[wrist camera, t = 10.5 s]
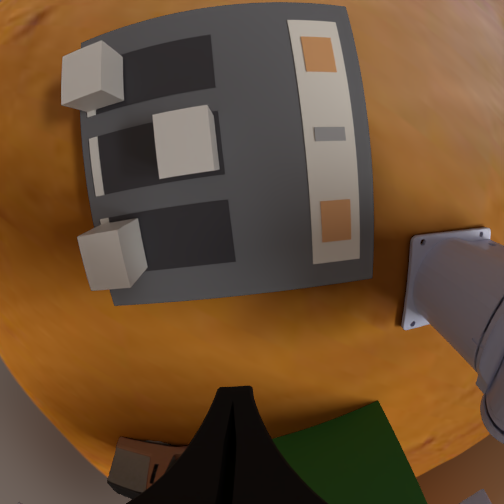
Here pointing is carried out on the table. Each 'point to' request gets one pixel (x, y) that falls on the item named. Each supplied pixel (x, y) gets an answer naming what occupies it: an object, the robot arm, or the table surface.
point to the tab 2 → (113, 255)
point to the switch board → (239, 152)
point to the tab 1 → (92, 77)
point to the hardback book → (353, 460)
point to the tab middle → (185, 141)
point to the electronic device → (140, 465)
